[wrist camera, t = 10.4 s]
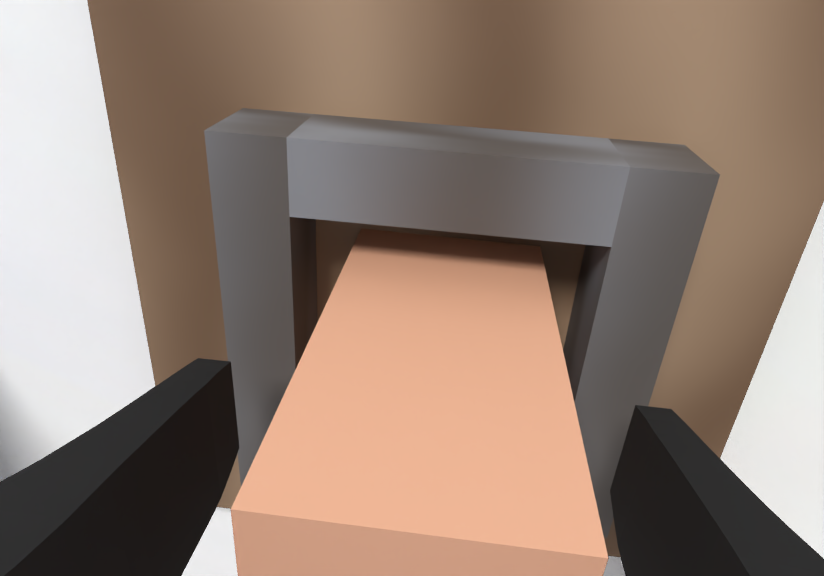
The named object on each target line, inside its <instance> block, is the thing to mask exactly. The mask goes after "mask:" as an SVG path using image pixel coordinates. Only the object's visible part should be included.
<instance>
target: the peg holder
mask: <svg viewBox="0 0 824 576" xmlns="http://www.w3.org/2000/svg"><path fill="white" fill-rule="evenodd" d="M87 1H88V7H89V12H90V18H91V24H92V29H93V35H94V41H95V46H96V52H97V58H98V63H99V69H100V75H101V80H102V86H103V92H104V97H105V103H106V109H107V114H108V120H109V126H110V131H111V137H112V143H113V148H114V154H115V160H116V165H117V171H118V176H119V182H120V188H121V193H122V199H123V205H124V210H125V216H126V222H127V227H128V233H129V239H130V244H131V250H132V256H133V261H134V267H135V273H136V278H137V284H138V290H139V295H140V301H141V307H142V312H143V318H144V324H145V329H146V335H147V341H148V346H149V352H150V358H151V363H152V369H153V374H154V380H155V386H157V385H158V384H160V383H161V382H163V381H164V380H166V379H167V378H168V377H170V376H171V375H173V374H174V373H176V372H177V371H179V370H180V369H182V368H183V367H185V366H186V365H188V364H189V363H191V362H193V361H194V360H196V359H198V358H202V359H212V360H221V361H230V362H231V368H232V378H233V388H234V398H235V408H236V417H237V427H238V437H239V447H240V448H239V450H238V453H237V456H236V459H235V462H234V465H233V468H232V470H231V473H230V476H229V479H228V481H227V484H226V487H225V489H224V492H223V494H222V497H221V499H220V501H219V503H218V505H217V507H223V508H232V505H233V503H234V501H235V499H236V497H237V495H238V493H239V490H240V488H241V486H242V484H243V482H244V480H245V477H246V475H247V473H248V471H249V469H250V467H251V465H252V462H253V460H254V458H255V456H256V454H257V452H258V449H259V447H260V445H261V443H262V441H263V439H264V437H265V434H266V432H267V430H268V428H269V426H270V424H271V422H272V419H273V417H274V415H275V413H276V411H277V409H278V406H279V404H280V402H281V400H282V398H283V396H284V394H285V391H286V389H287V387H288V385H289V383H290V381H291V378H292V376H293V374H294V372H295V370H296V368H297V366H298V363H299V361H300V359H301V357H302V355H303V353H304V350H305V348H306V346H307V344H308V342H309V340H310V338H311V335H312V333H313V331H314V329H315V327H316V325H317V323H318V320H319V318H320V316H321V314H322V312H323V310H324V307H325V305H326V303H327V301H328V299H329V297H330V295H331V292H332V290H333V288H334V286H335V284H336V282H337V279H338V277H339V275H340V273H341V271H342V269H343V267H344V264H345V262H346V260H347V258H348V256H349V254H350V251H351V249H352V247H353V245H354V243H355V241H356V239H357V236H358V234H359V232H360V230H361V228H363V229H373V230H383V231H393V232H403V233H412V234H422V235H432V236H442V237H452V238H462V239H472V240H481V241H491V242H501V243H511V244H521V245H531V246H540V248H541V252H542V257H543V261H544V266H545V271H546V275H547V280H548V284H549V289H550V293H551V298H552V303H553V307H554V312H555V316H556V321H557V325H558V330H559V335H560V339H561V344H562V348H563V353H564V357H565V362H566V367H567V371H568V376H569V380H570V385H571V389H572V394H573V399H574V403H575V408H576V412H577V417H578V421H579V426H580V431H581V435H582V440H583V444H584V449H585V453H586V458H587V463H588V467H589V472H590V476H591V481H592V485H593V490H594V495H595V499H596V504H597V508H598V513H599V517H600V522H601V527H602V531H603V536H604V540H605V545H606V549H607V554H608V556H615V557H621V556H620V553H619V549H618V544H617V537H616V531H615V525H614V518H613V510H612V502H611V495H610V489H611V485H612V482H613V478H614V475H615V472H616V468H617V465H618V462H619V458H620V455H621V452H622V448H623V445H624V442H625V438H626V435H627V431H628V428H629V425H630V421H631V418H632V415H633V411H634V408H635V405H640V406H649V407H658V408H668V409H672V410H673V411H674V412H675V413H676V414H677V415H678V416H679V417H680V418H681V419H682V420H683V421H684V422H685V423H686V424H687V425H688V426H689V427H690V428H691V429H692V430H693V431H694V432H695V433H696V434H697V435H698V436H699V437H700V439H701V440H702V441H703V442H704V443H705V444H706V445H707V446H708V447H709V448H710V449H711V450H712V451H713V452H714V453H715V454H716V455H717V456H718V457H719V458H720V457H721V454H722V452H723V449H724V447H725V444H726V442H727V439H728V437H729V434H730V432H731V430H732V427H733V425H734V422H735V420H736V417H737V415H738V412H739V410H740V407H741V405H742V402H743V400H744V397H745V395H746V392H747V390H748V387H749V385H750V382H751V380H752V377H753V375H754V373H755V370H756V368H757V365H758V363H759V360H760V358H761V355H762V353H763V350H764V348H765V345H766V343H767V340H768V338H769V335H770V333H771V330H772V328H773V325H774V323H775V320H776V318H777V315H778V313H779V311H780V308H781V306H782V303H783V301H784V298H785V296H786V293H787V291H788V288H789V286H790V283H791V281H792V278H793V276H794V273H795V271H796V268H797V266H798V263H799V261H800V258H801V256H802V254H803V251H804V249H805V246H806V244H807V241H808V239H809V236H810V234H811V231H812V229H813V226H814V224H815V221H816V219H817V216H818V214H819V211H820V209H821V206H822V204H823V201H824V0H87Z"/></svg>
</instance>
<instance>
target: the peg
mask: <svg viewBox="0 0 824 576" xmlns="http://www.w3.org/2000/svg"><path fill="white" fill-rule="evenodd" d="M231 516H232V525H233V535H234V544H235V553H236V563H237V572H238V576H603V573H604V570H605V567H606V564H607V561H608V554H607V549H606V545H605V540H604V536H603V531H602V527H601V522H600V517H599V513H598V508H597V504H596V499H595V495H594V490H593V485H592V481H591V476H590V472H589V467H588V463H587V458H586V453H585V449H584V444H583V440H582V435H581V431H580V426H579V421H578V417H577V412H576V408H575V403H574V399H573V394H572V389H571V385H570V380H569V376H568V371H567V367H566V362H565V357H564V353H563V348H562V344H561V339H560V335H559V330H558V325H557V321H556V316H555V312H554V307H553V303H552V298H551V293H550V289H549V284H548V280H547V275H546V271H545V266H544V261H543V257H542V252H541V248H540V246H531V245H521V244H511V243H501V242H491V241H481V240H472V239H462V238H452V237H442V236H432V235H422V234H412V233H403V232H393V231H383V230H373V229H363V228H361V230H360V232H359V234H358V236H357V239H356V241H355V243H354V245H353V247H352V249H351V251H350V254H349V256H348V258H347V260H346V262H345V264H344V267H343V269H342V271H341V273H340V275H339V277H338V279H337V282H336V284H335V286H334V288H333V290H332V292H331V295H330V297H329V299H328V301H327V303H326V305H325V307H324V310H323V312H322V314H321V316H320V318H319V320H318V323H317V325H316V327H315V329H314V331H313V333H312V335H311V338H310V340H309V342H308V344H307V346H306V348H305V350H304V353H303V355H302V357H301V359H300V361H299V363H298V366H297V368H296V370H295V372H294V374H293V376H292V378H291V381H290V383H289V385H288V387H287V389H286V391H285V394H284V396H283V398H282V400H281V402H280V404H279V406H278V409H277V411H276V413H275V415H274V417H273V419H272V422H271V424H270V426H269V428H268V430H267V432H266V434H265V437H264V439H263V441H262V443H261V445H260V447H259V449H258V452H257V454H256V456H255V458H254V460H253V462H252V465H251V467H250V469H249V471H248V473H247V475H246V477H245V480H244V482H243V484H242V486H241V488H240V490H239V493H238V495H237V497H236V499H235V501H234V503H233V505H232V508H231Z"/></svg>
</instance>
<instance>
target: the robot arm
mask: <svg viewBox="0 0 824 576" xmlns="http://www.w3.org/2000/svg"><path fill="white" fill-rule="evenodd" d="M239 448H240V447H239V437H238V427H237V417H236V408H235V398H234V388H233V378H232V368H231V362H230V361H221V360H212V359H202V358H198V359H196V360H194V361H193V362H191V363H189V364H188V365H186V366H185V367H183V368H182V369H180V370H179V371H177V372H176V373H174V374H173V375H171V376H170V377H168V378H167V379H166V380H164V381H163V382H161V383H160V384H158V385H157V386H155V387H154V388H152V389H151V390H149V391H148V392H147V393H145V394H144V395H142V396H141V397H139V398H138V399H136V400H135V401H133V402H132V403H130V404H129V405H127V406H126V407H124V408H123V409H121V410H120V411H118V412H117V413H115V414H114V415H112V416H111V417H109V418H108V419H106V420H105V421H103V422H101V423H100V424H98V425H97V426H95V427H93V428H92V429H90V430H89V431H87V432H85V433H84V434H82V435H80V436H79V437H77V438H75V439H74V440H72V441H70V442H69V443H67V444H66V445H64V446H62V447H61V448H59V449H57V450H56V451H54V452H52V453H51V454H49V455H48V456H46V457H44V458H43V459H41V460H39V461H37V462H36V463H34V464H32V465H30V466H29V467H27V468H25V469H23V470H21V471H19V472H18V473H16V474H14V475H12V476H10V477H8V478H7V479H5V480H3V481H1V482H0V576H181V575H182V573H183V571H184V569H185V568H186V566H187V564H188V562H189V560H190V558H191V556H192V554H193V552H194V550H195V548H196V546H197V544H198V543H199V541H200V539H201V537H202V535H203V533H204V531H205V529H206V527H207V525H208V523H209V521H210V519H211V517H212V515H213V513H214V511H215V509H216V507H217V505H218V503H219V501H220V499H221V497H222V494H223V492H224V489H225V487H226V484H227V481H228V479H229V476H230V473H231V470H232V468H233V465H234V462H235V459H236V456H237V453H238V450H239ZM610 495H611V502H612V510H613V518H614V525H615V531H616V537H617V544H618V549H619V553H620V556H621V560H622V564H623V568H624V571H625V575H626V576H824V559H823V558H822V557H821V556H820V555H819V554H818V553H817V552H816V551H815V550H814V549H812V548H811V547H810V546H809V545H808V544H807V543H806V542H805V541H804V540H803V539H801V538H800V537H799V536H798V535H797V534H796V533H795V532H794V531H793V530H792V529H790V528H789V527H788V526H787V525H786V524H785V523H784V522H783V521H782V520H781V519H780V518H779V517H778V516H777V515H776V514H775V513H773V512H772V511H771V510H770V509H769V508H768V507H767V506H766V505H765V504H764V503H763V502H762V501H761V500H760V499H759V498H758V497H757V496H756V495H755V494H754V493H753V492H752V491H751V490H750V489H749V488H748V487H747V486H746V485H745V484H744V483H743V482H742V481H741V480H740V479H739V478H738V477H737V476H736V475H735V474H734V473H733V472H732V471H731V470H730V469H729V468H728V467H727V466H726V465H725V464H724V463H723V461H722V460H721V459H720V458H719V457H718V456H717V455H716V454H715V453H714V452H713V451H712V450H711V449H710V448H709V447H708V446H707V445H706V444H705V443H704V442H703V441H702V440H701V439H700V437H699V436H698V435H697V434H696V433H695V432H694V431H693V430H692V429H691V428H690V427H689V426H688V425H687V424H686V423H685V422H684V421H683V420H682V419H681V418H680V417H679V416H678V415H677V414H676V413H675V412H674V411H673V410H672V409H668V408H658V407H649V406H640V405H635V408H634V411H633V415H632V418H631V421H630V425H629V428H628V431H627V435H626V438H625V442H624V445H623V448H622V452H621V455H620V458H619V462H618V465H617V468H616V472H615V475H614V478H613V482H612V485H611V489H610Z"/></svg>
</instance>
